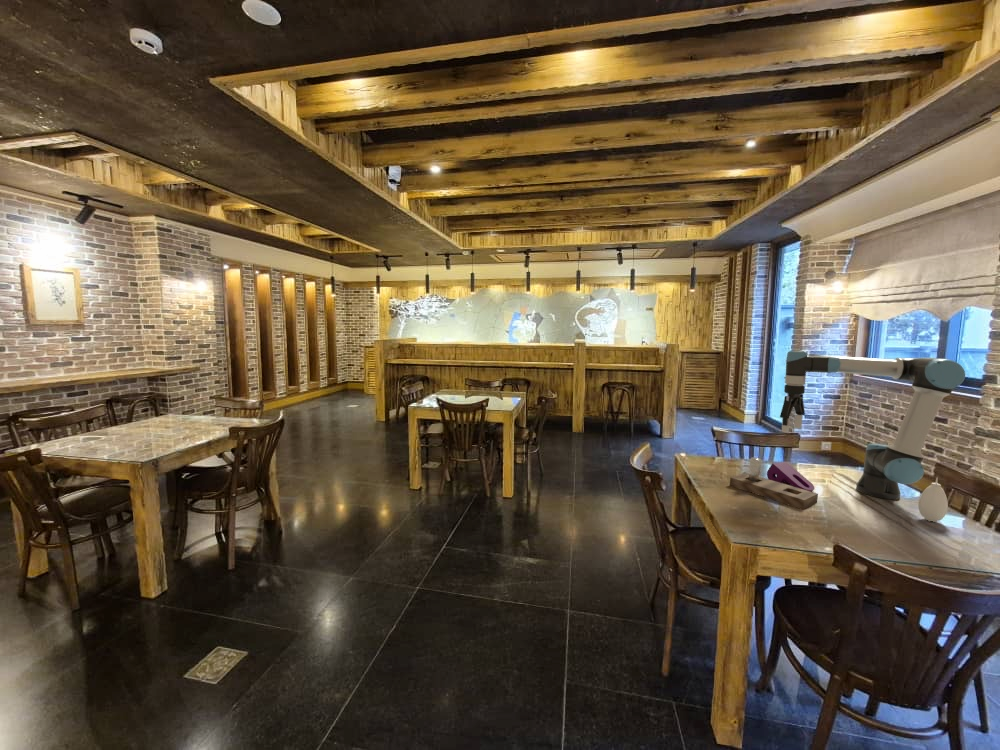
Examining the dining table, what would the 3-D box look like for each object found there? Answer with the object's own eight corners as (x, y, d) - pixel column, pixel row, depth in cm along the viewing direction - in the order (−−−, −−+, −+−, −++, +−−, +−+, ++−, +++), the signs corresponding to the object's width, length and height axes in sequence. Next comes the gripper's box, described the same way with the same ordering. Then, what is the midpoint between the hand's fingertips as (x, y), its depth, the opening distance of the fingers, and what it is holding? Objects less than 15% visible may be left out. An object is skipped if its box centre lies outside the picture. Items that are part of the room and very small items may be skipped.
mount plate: (817, 502, 178) (818, 493, 177) (803, 509, 170) (804, 500, 170) (744, 480, 202) (745, 472, 202) (729, 485, 195) (730, 477, 194)
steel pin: (759, 488, 192) (762, 459, 191) (755, 490, 190) (758, 460, 189) (750, 485, 196) (753, 456, 194) (746, 487, 193) (749, 458, 192)
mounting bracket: (808, 502, 194) (777, 474, 208) (819, 489, 190) (786, 461, 204) (794, 504, 191) (763, 475, 205) (804, 491, 186) (772, 463, 201)
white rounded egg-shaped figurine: (912, 517, 165) (918, 474, 164) (923, 515, 168) (929, 472, 166) (938, 526, 158) (945, 481, 156) (949, 524, 161) (956, 479, 159)
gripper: (796, 382, 198) (793, 425, 200) (773, 385, 184) (770, 432, 186) (815, 383, 192) (811, 428, 194) (792, 387, 178) (789, 435, 180)
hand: (791, 430), depth 190 cm, fingers open, 13 cm apart
